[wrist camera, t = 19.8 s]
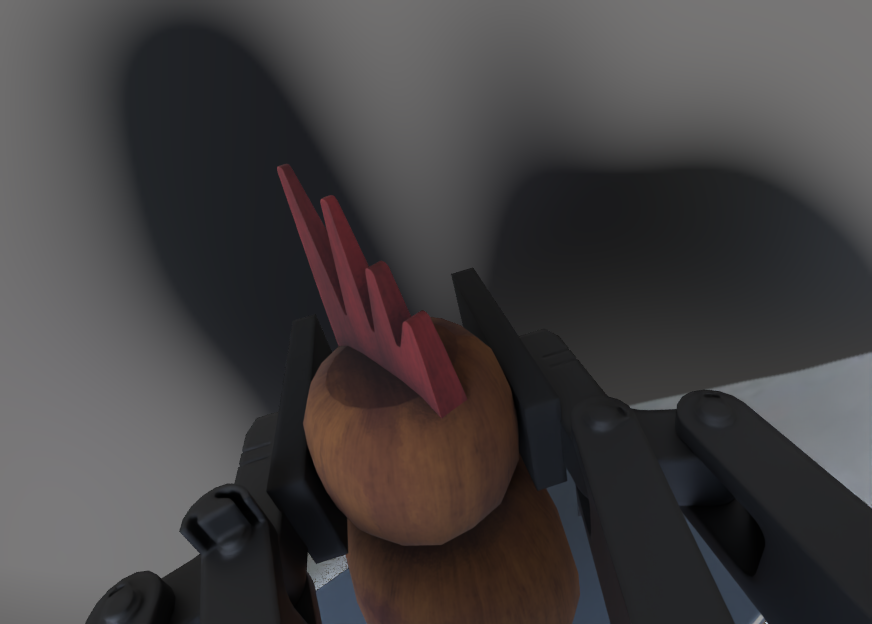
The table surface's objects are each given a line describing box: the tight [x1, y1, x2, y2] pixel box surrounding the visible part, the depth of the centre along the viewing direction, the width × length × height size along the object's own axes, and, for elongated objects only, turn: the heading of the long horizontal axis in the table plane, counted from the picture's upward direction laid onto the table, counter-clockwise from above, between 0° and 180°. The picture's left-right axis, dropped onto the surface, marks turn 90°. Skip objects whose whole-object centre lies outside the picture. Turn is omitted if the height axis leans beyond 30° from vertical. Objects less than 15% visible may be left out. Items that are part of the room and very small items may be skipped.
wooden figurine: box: [277, 164, 580, 624], centre depth 11 cm, size 7×6×15 cm
